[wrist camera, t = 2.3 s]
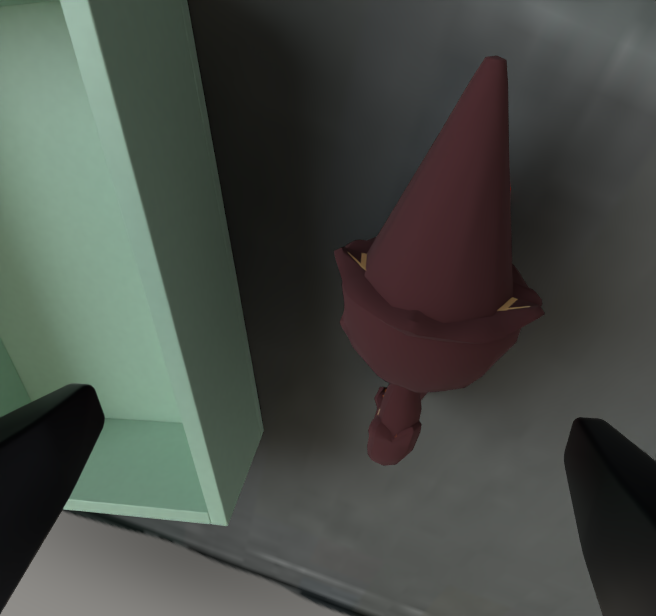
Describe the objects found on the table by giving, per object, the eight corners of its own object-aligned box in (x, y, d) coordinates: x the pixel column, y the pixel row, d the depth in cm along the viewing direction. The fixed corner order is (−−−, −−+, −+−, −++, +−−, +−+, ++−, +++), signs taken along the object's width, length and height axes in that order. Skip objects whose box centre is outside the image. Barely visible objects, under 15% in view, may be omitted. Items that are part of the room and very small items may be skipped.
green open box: (180, -39, 16) (68, -78, 11) (264, 430, 26) (228, 526, 21) (-165, 1, 18) (-396, -16, 13) (37, 415, 29) (-45, 498, 24)
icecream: (316, 43, 11) (287, 448, 20) (671, 102, 9) (461, 526, 17) (401, 30, 16) (348, 353, 25) (634, 65, 14) (487, 404, 23)
